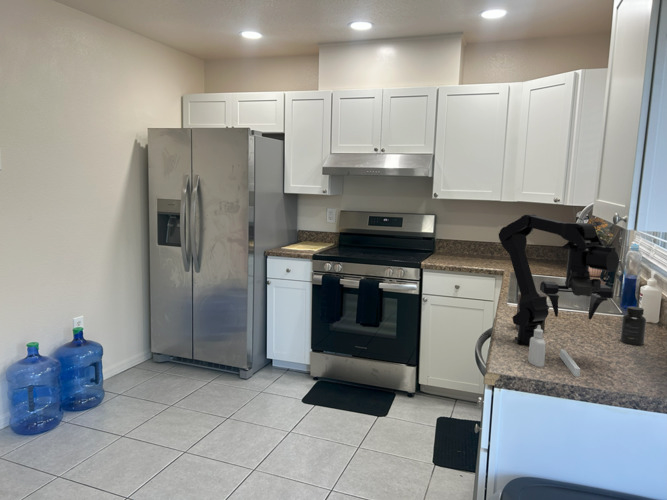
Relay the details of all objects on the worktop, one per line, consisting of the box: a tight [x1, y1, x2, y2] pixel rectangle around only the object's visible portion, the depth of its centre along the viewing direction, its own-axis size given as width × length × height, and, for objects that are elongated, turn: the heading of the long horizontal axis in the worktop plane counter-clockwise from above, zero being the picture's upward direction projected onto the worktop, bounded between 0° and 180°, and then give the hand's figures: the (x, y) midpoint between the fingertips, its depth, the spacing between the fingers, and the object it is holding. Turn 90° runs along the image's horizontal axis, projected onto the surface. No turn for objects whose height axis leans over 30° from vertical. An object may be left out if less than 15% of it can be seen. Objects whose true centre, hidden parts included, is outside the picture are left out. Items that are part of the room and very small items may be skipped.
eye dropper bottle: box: [527, 325, 547, 368], centre depth 140 cm, size 4×6×12 cm
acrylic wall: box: [559, 348, 581, 378], centre depth 139 cm, size 16×1×3 cm, turn 168°
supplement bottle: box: [620, 305, 647, 346], centre depth 165 cm, size 7×7×12 cm
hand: (572, 317), depth 145 cm, fingers open, 9 cm apart
